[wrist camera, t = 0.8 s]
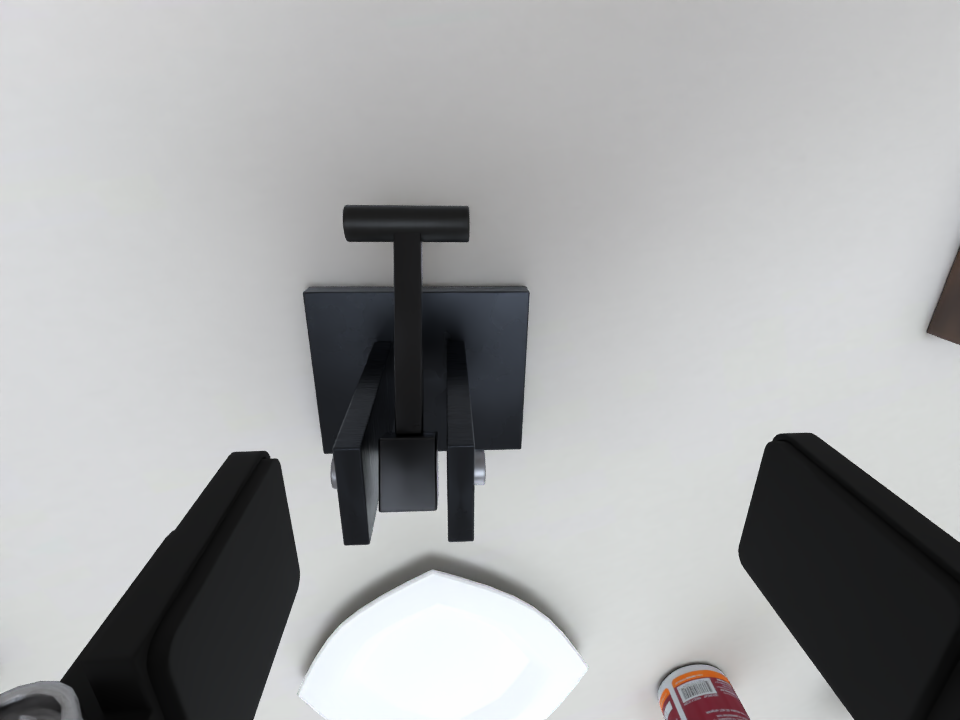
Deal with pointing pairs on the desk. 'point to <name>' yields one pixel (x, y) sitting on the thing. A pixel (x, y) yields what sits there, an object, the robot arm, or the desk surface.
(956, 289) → the control block
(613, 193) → the desk surface
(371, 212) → the lever
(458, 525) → the bracket
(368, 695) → the plate
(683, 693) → the pill bottle
